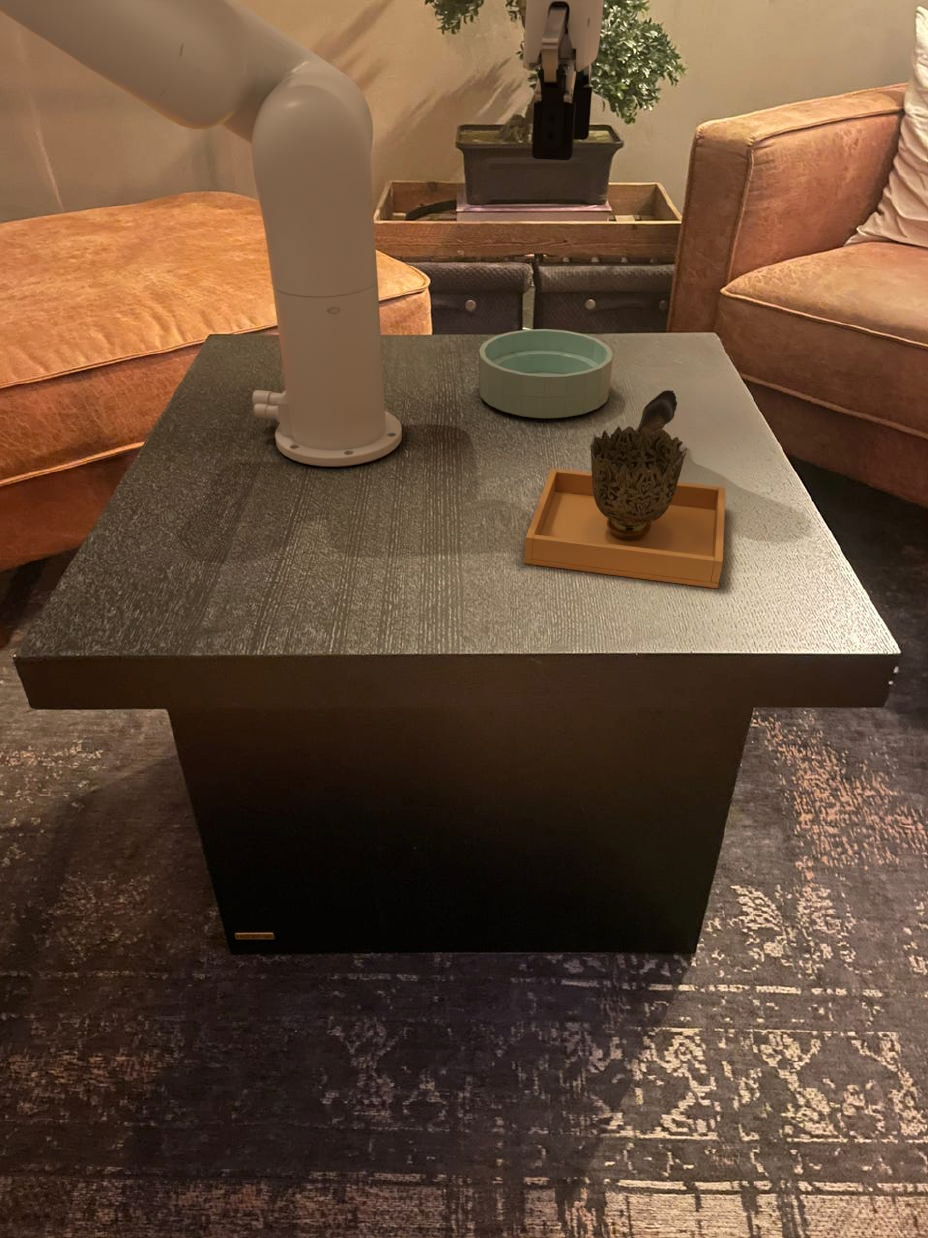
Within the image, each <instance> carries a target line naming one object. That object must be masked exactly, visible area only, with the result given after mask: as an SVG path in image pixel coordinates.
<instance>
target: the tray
mask: <svg viewBox="0 0 928 1238" xmlns="http://www.w3.org/2000/svg"><path fill="white" fill-rule="evenodd" d="M726 490H727V489H726V487H725V486H717V485H708V484H698V483H691V482H690V483H689V482H679V481H678V483H677V486H676V490H675V493H674V496H673V498H672V501H671V503H670V505H669V507H668V509H667V510H666V512H665V513H664V514H663V515H662V516H661V517H660V518H658V519H657V520H655V521H654V522H651V524H652V526H651V529H650V531H649V532H648V533H647V535H646V536H644V537H643V538H640V539H636V540H625V539H621V538H618V537H616V536H614V535H612V534H611V533H610V531H609V530H608V527H607V523H606V522H607V517H605V516H604V515H603V514H602V513H601V512H600V510H599V509H598V507H597V505H596V502H595V500H594V495H593V487H592V472H589V471H579V470H570V469H560V468H552V467H551V468H550V471H549V473H548V476H547V478H546V480H545V484H544V487H543V489H542V492H541V495H540V498H539V500H538V503H537V505H536V508H535V511H534V513H533V516H532V520H531V522H530V524H529V527H528V529H527V531H526V532H527V533H526V535H525V544H524V564H527V565H535V566H542V567H549V568H556V569H565V570H573V571H580V572H588V573H596V574H601V575H603V574H604V575H611V576H618V577H625V578H626V577H627V578H633V579H641V580H648V581H649V580H650V581H657V582H665V583H670V584H671V583H672V584H680V585H688V586H693V587H695V586H696V587H702V588H711V589H718V588H719V583H720V579H721V574H722V569H723V563H724V545H725V544H724V543H725V542H724V541H725V539H724V538H725V517H726V515H725V513H726Z"/></svg>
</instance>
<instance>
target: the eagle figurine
mask: <svg viewBox="0 0 928 1238" xmlns="http://www.w3.org/2000/svg"><path fill="white" fill-rule="evenodd" d="M677 405H678V401H677V396H676V393H675V392H674V390H671V389H667V390H663V391H661V392H660V393H659V394H657V395H656V396H655V397H654V398H653V399H651V400H650V401H649V402H648V403H647V404H646V405H645V406H644V408H643V409H642V414H641V418H640V421H639V425H638V427H637V428H636V429H634V430H635V432H636V434H637V435H638V434H639V433H640V431H641V429H642V428H643V427H646V428H647V429H648V431H650V432H649V435H650V436H651V435H653V434H655V433H656V432H658V431H660V430H664V428H665V426H666V425H668V424H669V423H671V422H672V420H673V419H674V418H675V412H676V410H677ZM637 435H636V436H637ZM639 435H640V434H639ZM638 437H639V436H638ZM638 437H637V438H638ZM683 443H684V442H683V441H682V440H680V445H679V448H680V447H682V445H683Z"/></svg>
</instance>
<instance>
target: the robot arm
mask: <svg viewBox="0 0 928 1238" xmlns="http://www.w3.org/2000/svg"><path fill="white" fill-rule="evenodd" d="M604 1H605V0H526V7H525V9H526V10H525V19H524V20H525V21H524V22H525V23H524V34H523V35H524V36H523V52H522V53H523V54H522V63H523V66H524V68H525V69H526V70H527V71H529V72H533V71H536V70H537V71H538V72H537V78H536V85H535V93H534V102H533V115H532V116H533V118H532V144H531V145H532V147H531V156H532V157H533V158H534V159H536V160H548V161H550V160H551V161H569V160H570V159H571V158H572V157H573V154H574V153H573V151H574V140H575V141H576V140H577V141H584V140H587V139H588V137H589V136H590V124H591V110H592V96H593V87H592V86H591V85H592V73H593V72H592V63H594V61H596V59H597V57H598V55H599V50H600V49H599V47H600V40H601V32H602V24H603V23H602V22H603V13H604V12H603V11H604ZM0 12H1V13H3V14H4V15H5V16H7V17H8V18H10V19H12V20H13V21H15V22H16V23H18V24H19V25H21V26H22V27H24V28H25V29H27V30H28V31H30V32H31V33H33V34H35V35H36V36H39V37H40V38H41V39H43V40H45V41H46V42H47V43H50V44H51V45H53V46H54V47H56V48H58V49H59V50H60V51H62V52H64V53H65V54H67V55H68V56H69V57H71V58H73V59H74V60H76V61H77V62H78V63H80V64H81V65H83V67H86V68H87V69H89V70H91V71H93V72H94V73H96V74H97V75H99V76H100V77H102V78H104V79H105V80H107V81H108V82H110V83H111V84H113V85H115V86H117V87H118V88H119V89H122V90H123V91H125V92H126V93H127V94H130V95H131V96H133V98H136V99H137V100H139V101H140V102H142V103H143V104H145V105H146V106H148V107H149V108H151V109H152V110H153V111H155V112H157V113H158V114H159V115H161V116H163V117H164V118H165V119H167V120H169V121H170V122H173V123H175V124H176V125H178V126H180V127H184V128H188V129H192V130H210V129H212V128H215V127H218V126H221V127H223V128H225V129H227V130H228V131H229V132H231V133H233V134H234V135H236V136H238V137H239V138H241V139H243V140H244V141H246V142H247V143H249V144H250V145H251V161H252V171H253V177H254V183H255V188H256V192H257V198H258V202H259V207H260V208H259V209H260V213H261V218H262V223H263V228H264V229H263V230H264V236H265V241H266V248H267V249H266V250H267V257H268V264H269V272H270V279H271V280H270V281H271V285H272V292H273V294H272V295H273V302H274V309H275V310H274V311H275V317H276V324H277V333H278V342H279V350H280V357H281V365H282V366H281V367H282V374H283V381H284V390H283V391H282V392H274V391H271V390H264V389H262V390H261V389H260V390H259V389H255V390H253V393H252V397H251V404H252V407H253V415H254V417H255V418H258V419H274V420H275V421H276V422H278V423H279V424H278V426H277V427H276V429H275V434H274V438H275V445H276V447H277V449H278V451H279V452H280V453H281V454H282V455H283V456H285V457H287V458H289V459H290V460H293V461H295V462H297V463H300V464H305V465H310V466H317V467H329V468H331V467H335V468H337V467H348V466H349V467H350V466H355V465H361V464H365V463H369V462H372V461H375V460H378V459H381V458H383V457H386V456H387V455H388V454H390V453H391V452H393V451H394V450H395V449H397V447H398V446H399V445H400V444H401V442H402V439H403V427H402V423H401V422H400V420H399V419H398V417H396V416H394V415H393V414H392V413H390V412H388V411H386V402H385V400H386V399H385V385H384V367H383V351H382V333H381V331H382V330H381V315H380V299H379V298H380V297H379V282H378V281H379V279H378V263H377V247H376V233H375V231H376V230H375V217H374V216H375V215H374V201H373V200H374V199H373V185H372V184H373V183H372V181H373V179H372V177H373V176H372V147H373V138H374V137H373V136H374V124H373V117H372V113H371V109H370V106H369V104H368V102H367V99H366V98H365V96H364V94H363V93H362V91H361V90H360V88H359V86H358V85H357V84H356V83H355V82H354V81H353V80H352V79H351V78H350V77H349V76H348V75H346V74H345V73H344V72H342V71H341V70H339V68H337V67H336V66H334V65H333V64H331V63H330V62H328V61H326V60H325V59H324V58H322V57H321V56H319V55H318V54H316V53H315V52H313V51H312V50H310V49H309V48H307V47H306V46H305V45H303V44H301V43H300V42H298V41H297V40H296V39H294V38H292V36H290V35H288V34H287V33H285V32H284V31H282V30H280V29H279V28H278V27H276V26H275V25H274V24H272V23H271V22H269V21H267V20H266V19H264V18H263V17H262V16H260V15H259V14H257V13H256V12H254V11H253V10H252V9H250V8H248V7H247V6H245V5H244V4H242V3H240V2H238V1H237V0H0Z"/></svg>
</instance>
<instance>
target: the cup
mask: <svg viewBox="0 0 928 1238" xmlns="http://www.w3.org/2000/svg"><path fill="white" fill-rule="evenodd" d="M635 430H636V429H635V428H634V427H632V426H627V427H625V428H624V429H623V430H622V427H621V426H617V427H616V428H615V430H614V432H613V433H612V434H610V435H609V434H608V433H607V430H606V429H604V430H603V432H602V434H601V437H600V436H597V435H593V436H592V439H591V443H590V445H589V447H590V466H591V470H590V471H591V473H592V487H593V495H594V500H595V502H596V505H597V507H598V509H599V510H600V512H601V513H602V514H603V515H604V516H605V517H607V522H606V523H607V527H608V530H609V531H610V533H611V534H612V535H614V536H616V537H618V538H621V539H625V540H636V539H640V538H643V537H644V536H646V535H647V533H648V532H649V531H650V529H651V526H652V524H651V522H654V521H655V520H657V519H658V518H660V517H661V516H662V515H663V514H664V513H665V512H666V510H667V509H668V507H669V505H670V503H671V501H672V498H673V496H674V493H675V490H676V486H677V483H678V482H679V479H680V475H681V473H682V468H683V466H684V462H685V459H686V455H687V451H688V447H686V448H683V450H681V449H680V447H679V445H680V441H681V440H680V439H679V437H678V436H675V437H674V438H672V436H671V434H669V432H667V431H666V430H665V429H662V430H660V431H658V432H656V433H655V434H653V435H651V436H650V435H649V432H650V431H648V429H647V428H646V427H643V428H642V429H641V431H640V433H639V434H640V435H639V434H638V435H637V434H636V432H635ZM636 435H637V436H636ZM638 436H639V437H638ZM637 437H638V438H637Z"/></svg>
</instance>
